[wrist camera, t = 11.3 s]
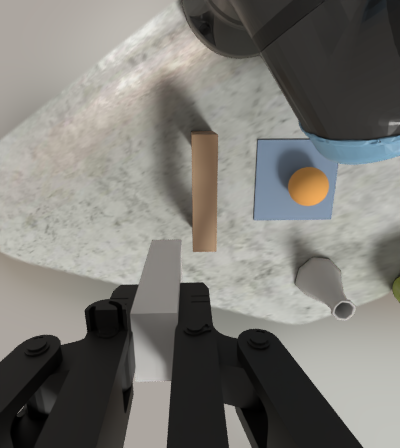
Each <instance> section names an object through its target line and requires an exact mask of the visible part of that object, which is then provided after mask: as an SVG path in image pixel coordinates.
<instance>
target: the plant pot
mask: <svg viewBox="0 0 400 448" xmlns="http://www.w3.org/2000/svg"><path fill="white" fill-rule="evenodd" d="M392 290H393V294H394V296H395V297H396V299H397V300H398V301H399V303H400V277H398V278H397V279H396V280H395V281H394V284H393V288H392Z"/></svg>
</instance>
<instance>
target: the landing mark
mask: <svg viewBox="0 0 400 448" xmlns="http://www.w3.org/2000/svg"><path fill="white" fill-rule="evenodd" d="M305 167H314V168H317V169H319V170H321V171H322V172H323V173H324V174H325V175H326V177H327V179H328V182H329V190H328V193H327V195H326V197H325V198H324V199H323V200H322V201H321V202H320V203H318V204H316V205H312V206H303V205H300V204H298V203H296V202H295V201H294V200H293V199H292V198H291V196H290V194H289V191H288V183H289V180H290V178H291V176H292V175H293V174H294V173H295V172H296V171H297V170H299V169H301V168H305ZM337 169H338V163H336V162H332V161H330V160H328V159H326V158H325V157H324V156H322V155H321V154H320V153H319V152H318V150H317V149H316V147H315V146H314V144H313V143H312V141H311V140H258V145H257V165H256V185H255V205H254V220H318V219H331V215H332V208H333V200H334V192H335V184H336V176H337Z"/></svg>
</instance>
